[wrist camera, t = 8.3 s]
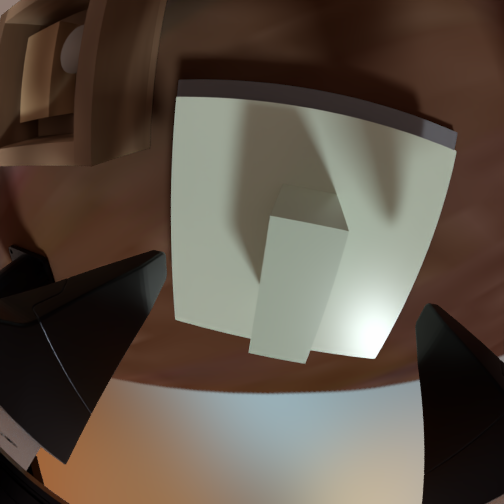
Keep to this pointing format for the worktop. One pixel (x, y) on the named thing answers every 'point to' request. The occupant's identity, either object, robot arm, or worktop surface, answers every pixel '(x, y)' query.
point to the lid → (298, 224)
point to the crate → (77, 80)
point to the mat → (319, 105)
